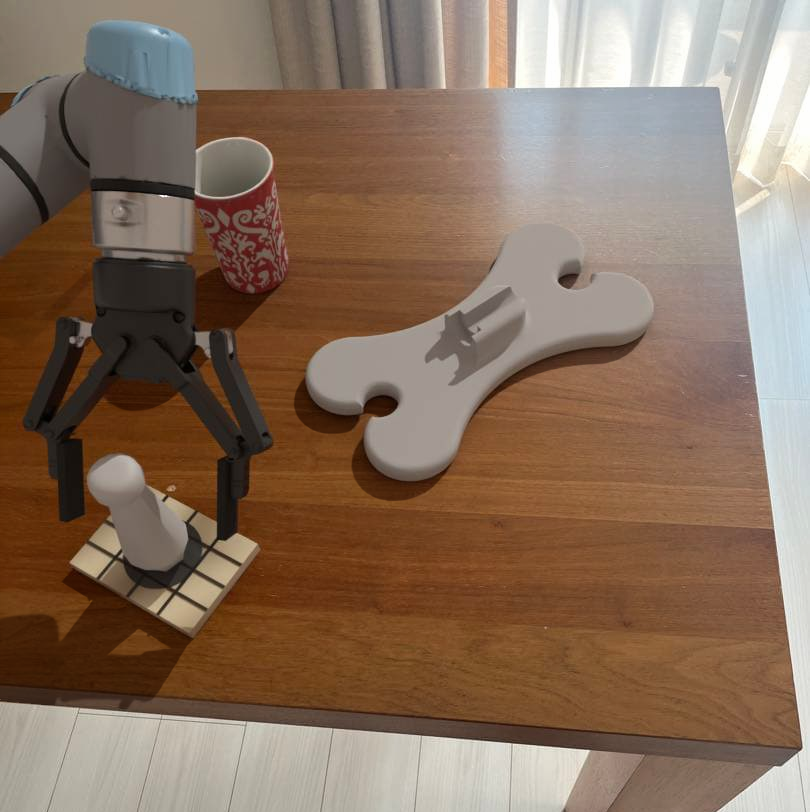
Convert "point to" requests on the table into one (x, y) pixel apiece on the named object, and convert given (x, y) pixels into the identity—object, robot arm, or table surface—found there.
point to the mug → (241, 212)
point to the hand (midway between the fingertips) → (148, 527)
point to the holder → (475, 348)
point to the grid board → (171, 570)
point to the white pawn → (138, 514)
